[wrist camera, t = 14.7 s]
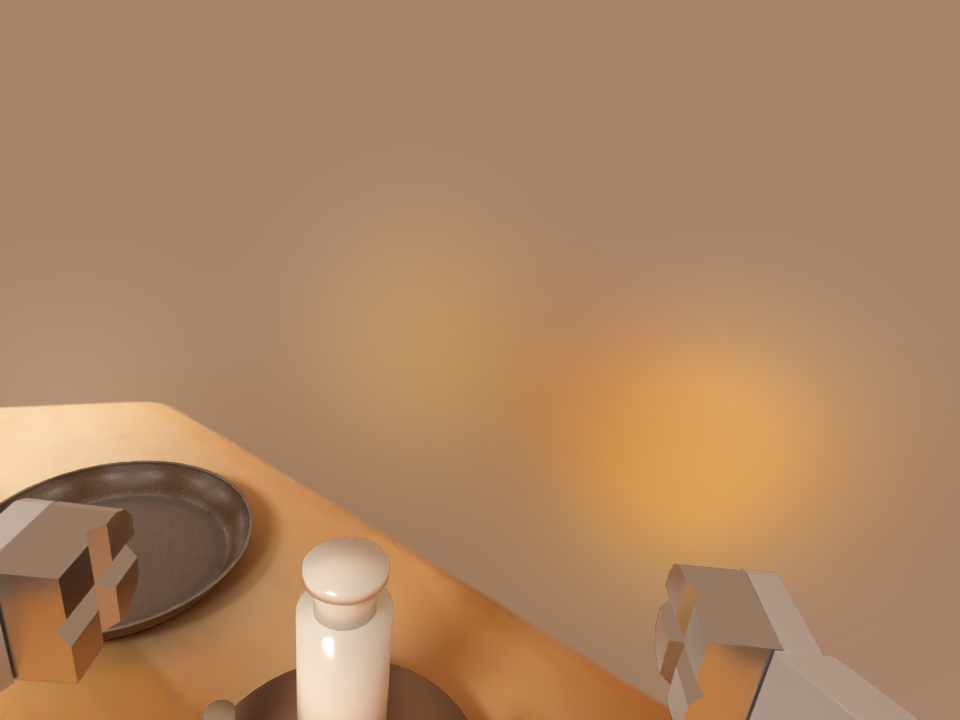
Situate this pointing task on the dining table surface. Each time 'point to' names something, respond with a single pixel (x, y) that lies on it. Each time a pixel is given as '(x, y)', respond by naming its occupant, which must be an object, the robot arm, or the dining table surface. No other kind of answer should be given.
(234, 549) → the plant saucer
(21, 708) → the dining table surface
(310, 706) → the bud vase
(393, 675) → the pedestal
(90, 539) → the robot arm
